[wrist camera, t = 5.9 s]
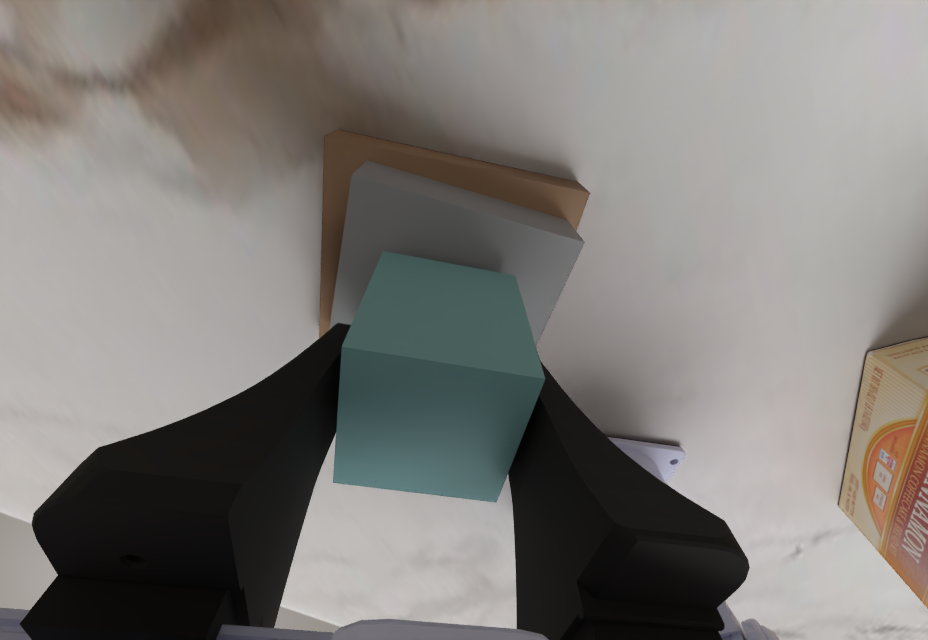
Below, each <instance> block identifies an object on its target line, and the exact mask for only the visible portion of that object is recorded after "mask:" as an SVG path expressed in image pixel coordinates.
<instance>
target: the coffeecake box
mask: <svg viewBox="0 0 928 640" xmlns="http://www.w3.org/2000/svg"><path fill="white" fill-rule="evenodd" d="M839 508H840V509H841V510H842V511H843V512H844V513H845V514H846V516H847V517H848V518H849V519H850V520H851V521H852V522H853V523H854V525H855V526H856V527H857V528H858V529H859V530H860V532H861V533H862V534H863V535H864V536H865V537H866V538H867V540H868V541H869V542H870V543H871V544H872V545H873V546H874V547H875V549H876V550H877V551H878V552H879V553H880V554H881V555H882V557H883V558H884V559H885V560H886V561H887V562H888V563H889V565H890V566H891V567H892V568H893V569H894V570H895V571H896V573H897V574H898V575H899V576H900V577H901V578H902V579H903V581H904V582H905V583H906V584H907V585H908V586H909V587H910V589H911V590H912V591H913V592H914V593H915V594H916V595H917V597H918V598H919V599H920V600H921V601H922V602H923V604H924V605H925V606H926V607H927V608H928V337H927V338H922V339H917V340H912V341H908V342H904V343H900V344H896V345H893V346H889V347H885V348H881V349H877V350H873V351H869V352H868V353H867V356H866V361H865V366H864V372H863V378H862V383H861V389H860V394H859V398H858V404H857V410H856V416H855V421H854V427H853V432H852V437H851V443H850V448H849V454H848V459H847V464H846V470H845V475H844V480H843V486H842V491H841V496H840V501H839Z"/></svg>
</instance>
